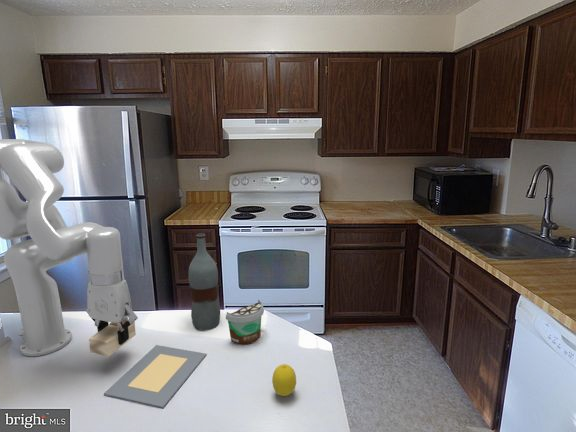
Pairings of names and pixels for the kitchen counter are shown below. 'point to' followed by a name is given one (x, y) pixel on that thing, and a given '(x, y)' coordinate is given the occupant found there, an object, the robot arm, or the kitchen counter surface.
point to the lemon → (284, 380)
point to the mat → (156, 376)
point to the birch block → (108, 339)
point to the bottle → (204, 288)
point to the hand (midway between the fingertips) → (114, 339)
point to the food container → (245, 324)
